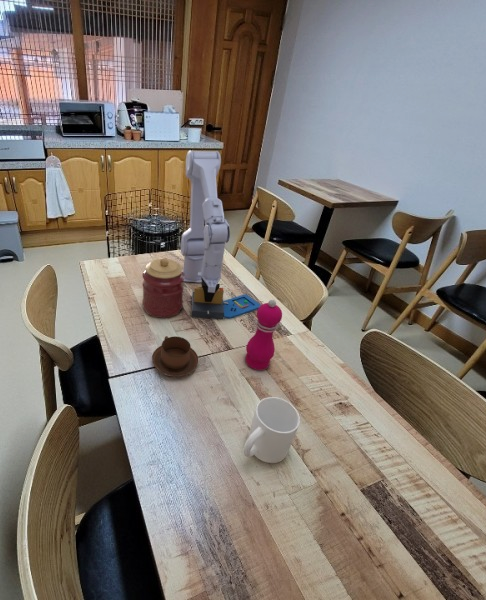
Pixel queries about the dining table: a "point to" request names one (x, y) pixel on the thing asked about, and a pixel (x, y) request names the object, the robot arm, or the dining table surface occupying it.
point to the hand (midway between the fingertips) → (208, 299)
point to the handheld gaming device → (239, 306)
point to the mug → (272, 430)
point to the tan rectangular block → (200, 295)
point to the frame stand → (207, 309)
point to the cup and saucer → (175, 357)
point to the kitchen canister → (163, 288)
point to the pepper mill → (263, 336)
